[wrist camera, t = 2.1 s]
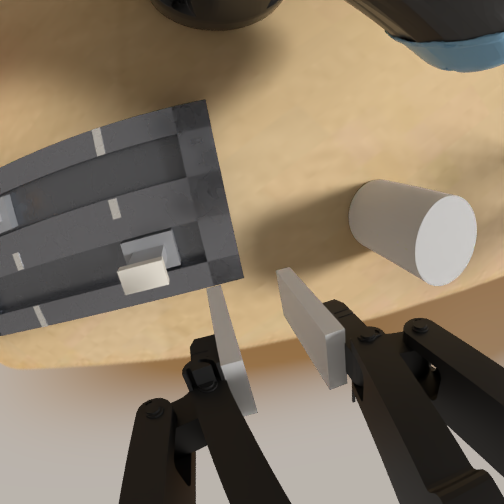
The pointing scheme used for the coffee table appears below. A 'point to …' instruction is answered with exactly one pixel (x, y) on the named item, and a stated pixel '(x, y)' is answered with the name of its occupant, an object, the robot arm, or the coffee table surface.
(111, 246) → the console board
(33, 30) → the coffee table surface
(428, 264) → the grey solid cylinder
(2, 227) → the orange fader
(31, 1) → the coffee table surface
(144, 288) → the cream fader
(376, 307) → the coffee table surface
